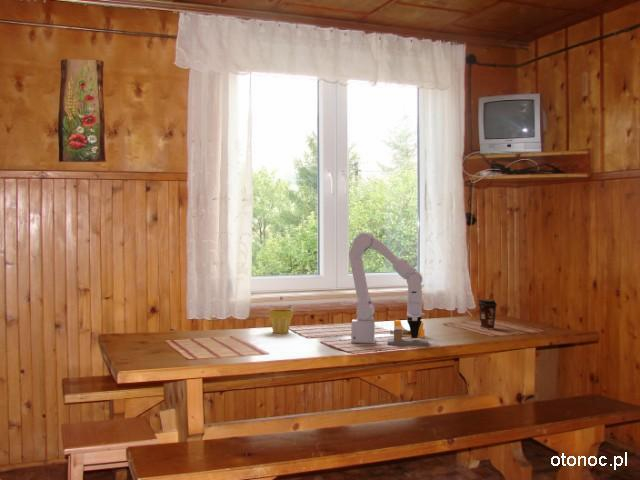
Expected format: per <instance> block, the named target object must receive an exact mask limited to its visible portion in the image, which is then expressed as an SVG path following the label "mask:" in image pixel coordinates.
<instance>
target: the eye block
mask: <svg viewBox="0 0 640 480" xmlns="http://www.w3.org/2000/svg"><path fill="white" fill-rule="evenodd" d="M393 326H394V325H393ZM402 326H403V325H402ZM402 326H394V327H393V329H394V335H393V338H387V342H386V343H387V346H412V345H413V347H414V346H417V347H418V346H419V347H420V346H421V347H423V346H425V347H429V345H430V343H429V339H428V338H427V339H423V338H418V339H411V338H403V336H402Z"/></svg>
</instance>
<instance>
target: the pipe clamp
mask: <svg viewBox="0 0 640 480" xmlns="http://www.w3.org/2000/svg"><path fill="white" fill-rule="evenodd" d="M393 323H394V325H393V326H402V330H407V329H406V328H405V327H404V326H403V325H402V322H401V320H400V319H399V320H398V319H396V320H394V321H393ZM402 337H409V338H411V335H402ZM423 337H425V328H424V321H422V323H421V325H420V327H419V331H418V339H423Z"/></svg>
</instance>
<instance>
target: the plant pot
mask: <svg viewBox="0 0 640 480" xmlns="http://www.w3.org/2000/svg"><path fill="white" fill-rule="evenodd" d="M268 316H269V317H268V318H269V319H270V322H271V327H272V332H273V333H274V334H288V333H289V330H290V326H291V322H292V319H293V318H294V317H293V316H294V310H293V309H290V308H272V309H269V313H268Z"/></svg>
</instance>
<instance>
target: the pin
mask: <svg viewBox="0 0 640 480" xmlns="http://www.w3.org/2000/svg"><path fill="white" fill-rule="evenodd" d="M389 334H390V335H393V336H394V328H393V329H392V328H391V329H390V332H389ZM402 335H411V331H410V329H406V330H402ZM410 339H419V338H418V337H417V338H412V337H410Z"/></svg>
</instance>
